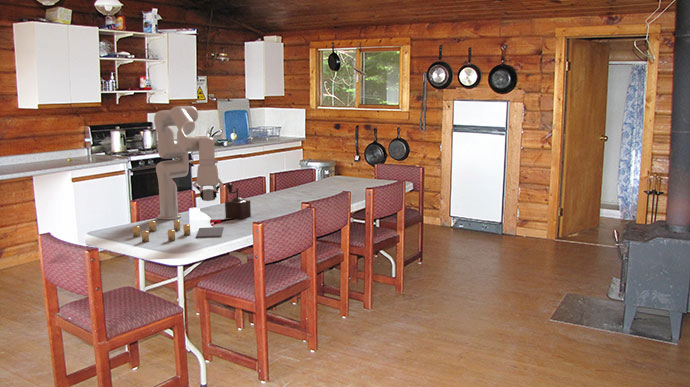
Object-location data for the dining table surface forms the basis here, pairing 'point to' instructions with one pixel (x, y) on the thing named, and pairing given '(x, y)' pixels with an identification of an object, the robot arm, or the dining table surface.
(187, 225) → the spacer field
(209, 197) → the dark grey block
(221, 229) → the mat
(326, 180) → the dining table surface
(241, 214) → the dark brown coffee grinder
